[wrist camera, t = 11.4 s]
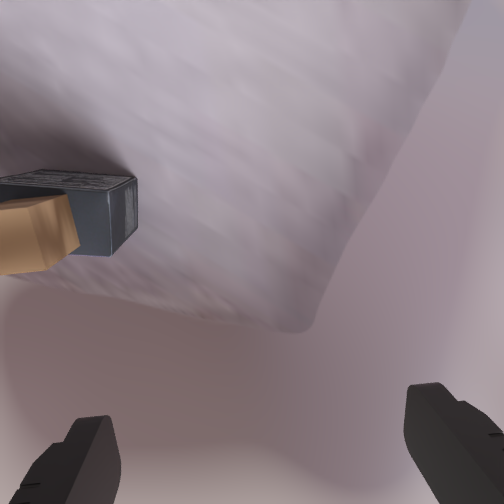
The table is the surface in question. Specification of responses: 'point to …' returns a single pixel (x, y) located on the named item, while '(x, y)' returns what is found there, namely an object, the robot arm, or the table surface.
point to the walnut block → (35, 233)
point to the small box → (85, 204)
